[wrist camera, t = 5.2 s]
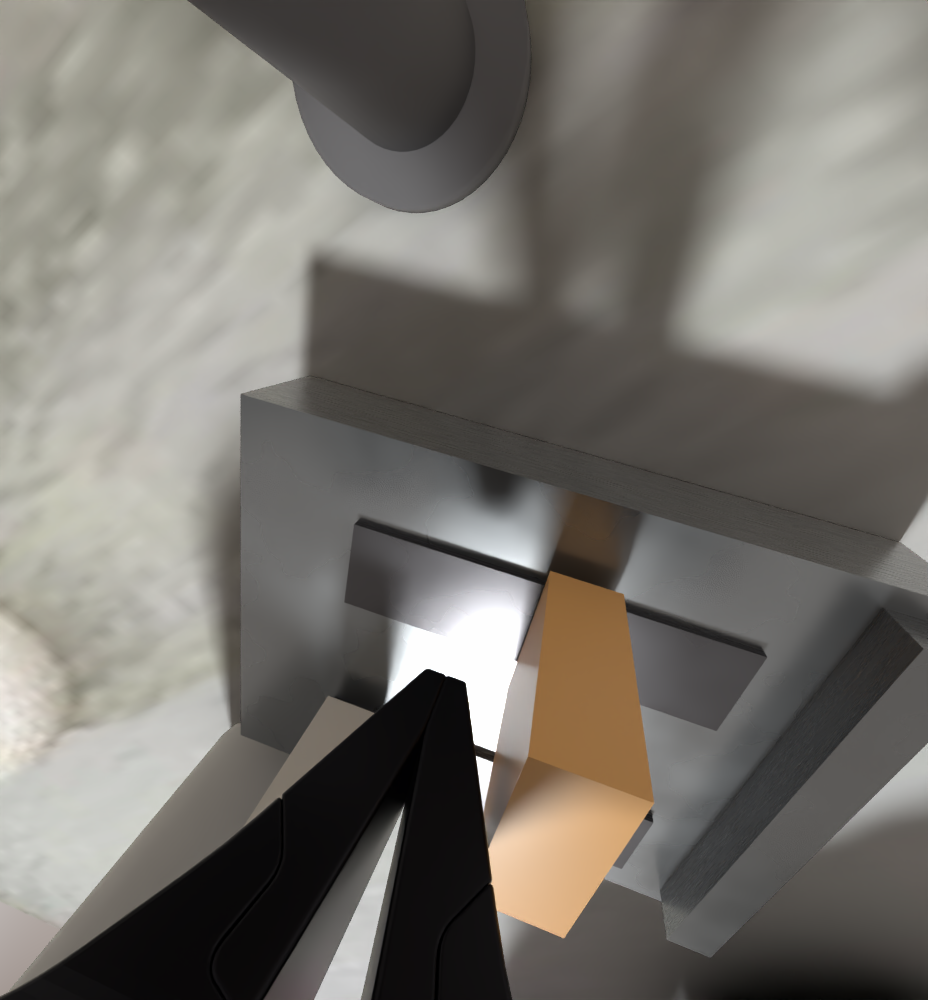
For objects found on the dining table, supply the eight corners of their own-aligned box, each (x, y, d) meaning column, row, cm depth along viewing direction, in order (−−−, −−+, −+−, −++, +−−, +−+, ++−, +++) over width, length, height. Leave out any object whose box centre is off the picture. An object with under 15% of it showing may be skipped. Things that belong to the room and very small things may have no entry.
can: (303, 679, 18) (-88, 1206, 8) (415, 803, 20) (219, 1393, 9) (202, 730, 21) (-177, 1157, 11) (306, 834, 23) (62, 1303, 12)
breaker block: (290, 671, 18) (215, 766, 15) (310, 375, 13) (201, 403, 9) (691, 821, 16) (724, 974, 13) (900, 542, 11) (1061, 662, 7)
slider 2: (507, 687, 11) (467, 898, 7) (550, 570, 10) (528, 756, 6) (570, 709, 11) (564, 938, 7) (623, 594, 10) (654, 803, 6)
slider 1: (319, 773, 15) (219, 951, 11) (328, 695, 13) (214, 870, 9) (364, 791, 14) (280, 980, 10) (380, 715, 13) (288, 902, 9)
